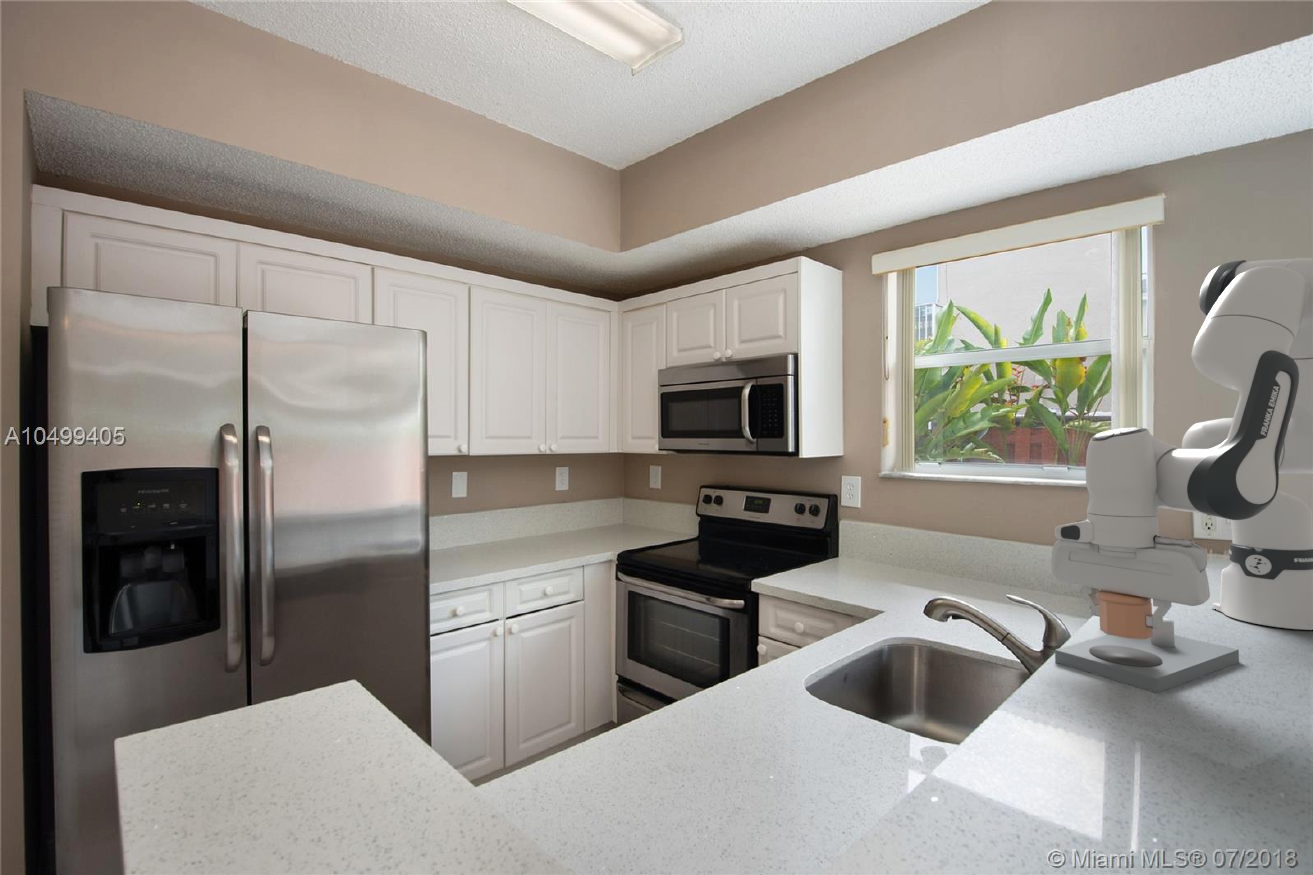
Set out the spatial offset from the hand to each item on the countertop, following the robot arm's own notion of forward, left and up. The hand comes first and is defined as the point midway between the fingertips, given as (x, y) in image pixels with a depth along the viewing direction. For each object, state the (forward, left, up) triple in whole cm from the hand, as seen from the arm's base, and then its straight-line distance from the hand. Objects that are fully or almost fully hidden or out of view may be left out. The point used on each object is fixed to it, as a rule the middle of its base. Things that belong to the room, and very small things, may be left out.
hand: (1125, 621), depth 95 cm
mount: (-6, 0, -7) cm, 10 cm away
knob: (0, 0, -2) cm, 2 cm away
